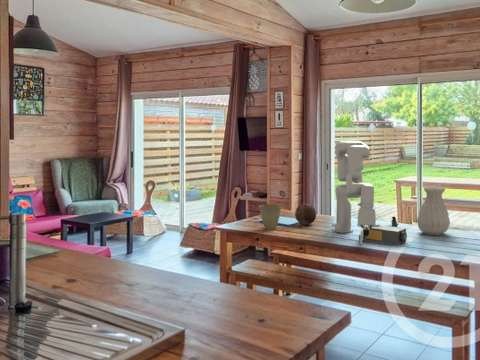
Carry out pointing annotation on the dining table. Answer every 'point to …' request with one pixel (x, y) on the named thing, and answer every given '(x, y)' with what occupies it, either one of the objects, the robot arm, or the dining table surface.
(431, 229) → the vase
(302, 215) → the wooden sphere
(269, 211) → the plant pot
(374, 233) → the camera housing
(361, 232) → the side door
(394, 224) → the binoculars
